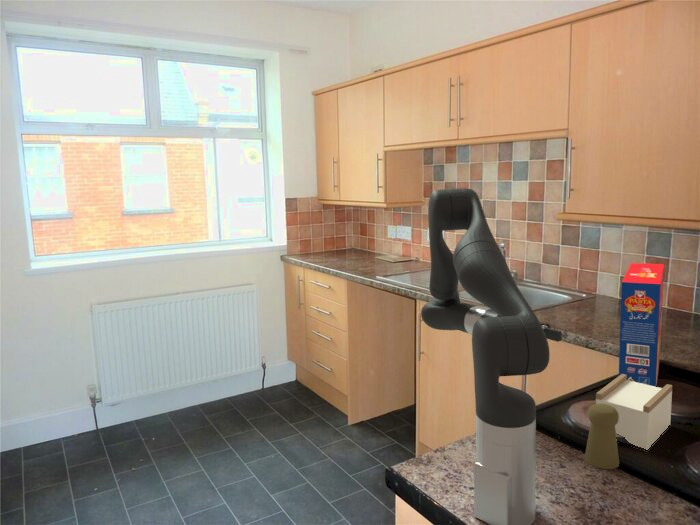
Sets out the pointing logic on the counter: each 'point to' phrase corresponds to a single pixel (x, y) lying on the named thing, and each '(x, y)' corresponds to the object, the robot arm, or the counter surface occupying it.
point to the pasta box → (641, 323)
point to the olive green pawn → (602, 437)
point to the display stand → (638, 409)
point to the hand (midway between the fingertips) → (547, 341)
